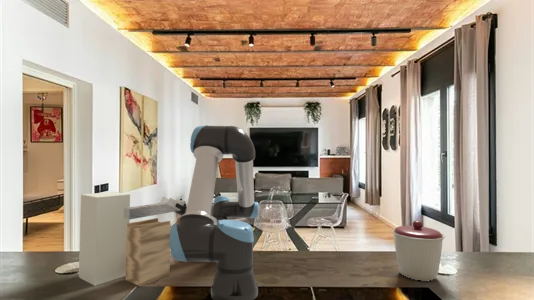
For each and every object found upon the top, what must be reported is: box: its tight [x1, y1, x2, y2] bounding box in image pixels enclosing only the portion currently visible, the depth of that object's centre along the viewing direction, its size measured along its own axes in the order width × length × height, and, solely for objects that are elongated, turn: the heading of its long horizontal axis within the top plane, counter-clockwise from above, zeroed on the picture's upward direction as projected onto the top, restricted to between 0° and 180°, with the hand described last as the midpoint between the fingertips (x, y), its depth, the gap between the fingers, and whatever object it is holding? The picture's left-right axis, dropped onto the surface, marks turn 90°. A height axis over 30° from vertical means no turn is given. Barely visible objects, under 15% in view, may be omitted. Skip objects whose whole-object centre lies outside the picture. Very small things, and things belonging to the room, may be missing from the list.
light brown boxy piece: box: [125, 217, 172, 287], centre depth 112 cm, size 9×12×20 cm
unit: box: [78, 191, 131, 287], centre depth 114 cm, size 12×12×30 cm
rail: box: [124, 199, 187, 220], centre depth 115 cm, size 4×24×4 cm, turn 144°
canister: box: [391, 220, 446, 282], centre depth 118 cm, size 18×18×21 cm
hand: (165, 200), depth 118 cm, fingers closed on rail, 3 cm apart
